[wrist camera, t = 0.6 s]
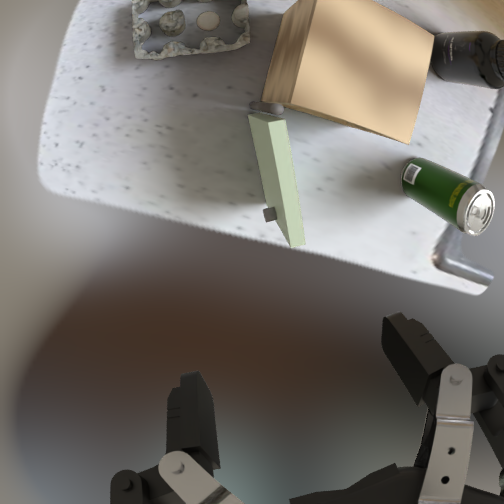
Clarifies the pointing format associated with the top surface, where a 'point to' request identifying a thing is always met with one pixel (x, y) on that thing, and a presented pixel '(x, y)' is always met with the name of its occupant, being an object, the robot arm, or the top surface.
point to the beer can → (448, 195)
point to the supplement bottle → (469, 58)
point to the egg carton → (175, 25)
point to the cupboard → (349, 66)
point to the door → (277, 175)
